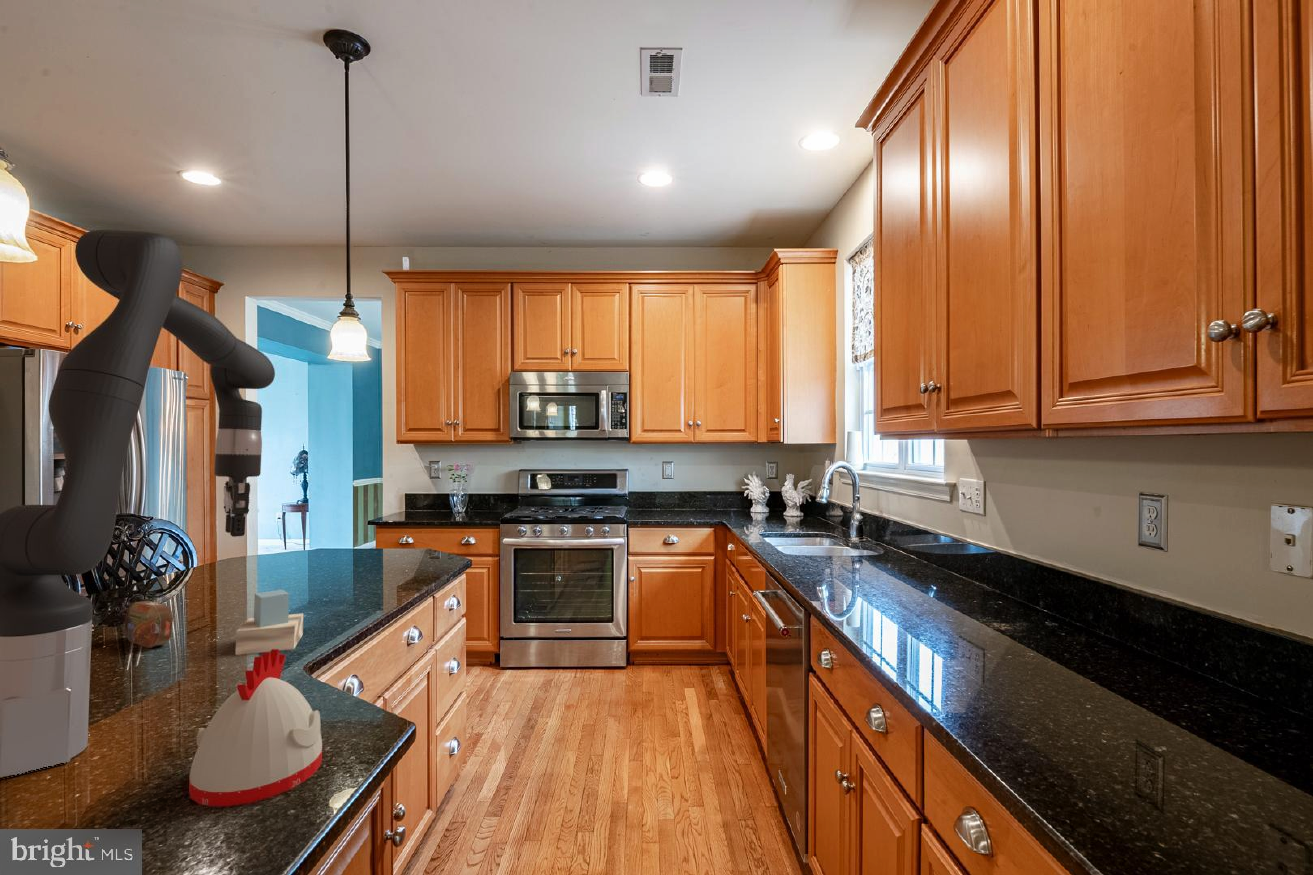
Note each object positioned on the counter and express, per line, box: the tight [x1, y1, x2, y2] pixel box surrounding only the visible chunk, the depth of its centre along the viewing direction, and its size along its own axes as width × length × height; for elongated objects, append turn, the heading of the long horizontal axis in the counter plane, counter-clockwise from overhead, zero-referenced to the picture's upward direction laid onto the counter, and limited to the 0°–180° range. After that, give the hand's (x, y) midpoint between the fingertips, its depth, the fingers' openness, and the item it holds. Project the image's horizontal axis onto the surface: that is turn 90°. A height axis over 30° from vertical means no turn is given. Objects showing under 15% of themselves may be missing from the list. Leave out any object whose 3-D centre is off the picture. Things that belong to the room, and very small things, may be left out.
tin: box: [124, 600, 174, 649], centre depth 122 cm, size 15×3×8 cm, turn 62°
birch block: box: [235, 612, 304, 656], centre depth 122 cm, size 10×10×5 cm
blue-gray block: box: [253, 589, 290, 627], centre depth 122 cm, size 5×5×6 cm
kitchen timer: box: [188, 649, 323, 807], centre depth 74 cm, size 14×14×15 cm
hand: (234, 534), depth 115 cm, fingers open, 8 cm apart
